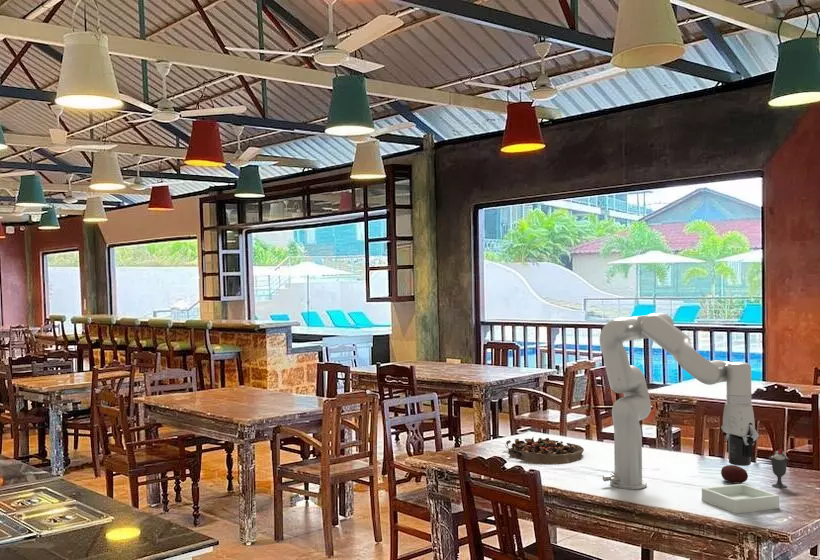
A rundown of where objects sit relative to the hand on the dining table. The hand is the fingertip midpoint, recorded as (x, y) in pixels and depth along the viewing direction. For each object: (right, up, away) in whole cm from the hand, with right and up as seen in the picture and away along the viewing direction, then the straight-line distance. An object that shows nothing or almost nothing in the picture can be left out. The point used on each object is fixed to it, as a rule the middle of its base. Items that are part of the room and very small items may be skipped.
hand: (739, 454), depth 258 cm
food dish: (-51, -17, +75) cm, 93 cm away
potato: (+10, -17, +28) cm, 34 cm away
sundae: (+23, -16, +22) cm, 36 cm away
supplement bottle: (0, -3, 0) cm, 3 cm away
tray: (0, -16, 0) cm, 16 cm away
